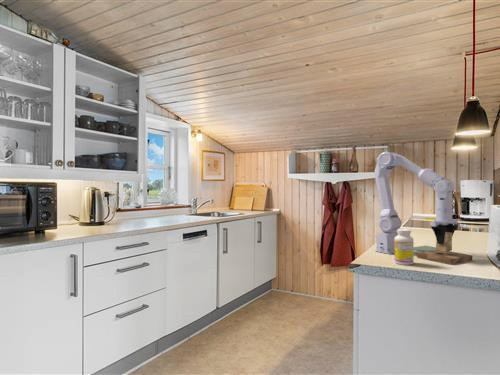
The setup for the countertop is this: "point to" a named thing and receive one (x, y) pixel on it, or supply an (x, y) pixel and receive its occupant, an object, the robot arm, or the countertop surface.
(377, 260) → the countertop surface
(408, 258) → the supplement bottle
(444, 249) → the maple block
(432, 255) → the pocket plate
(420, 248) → the rubber mat
